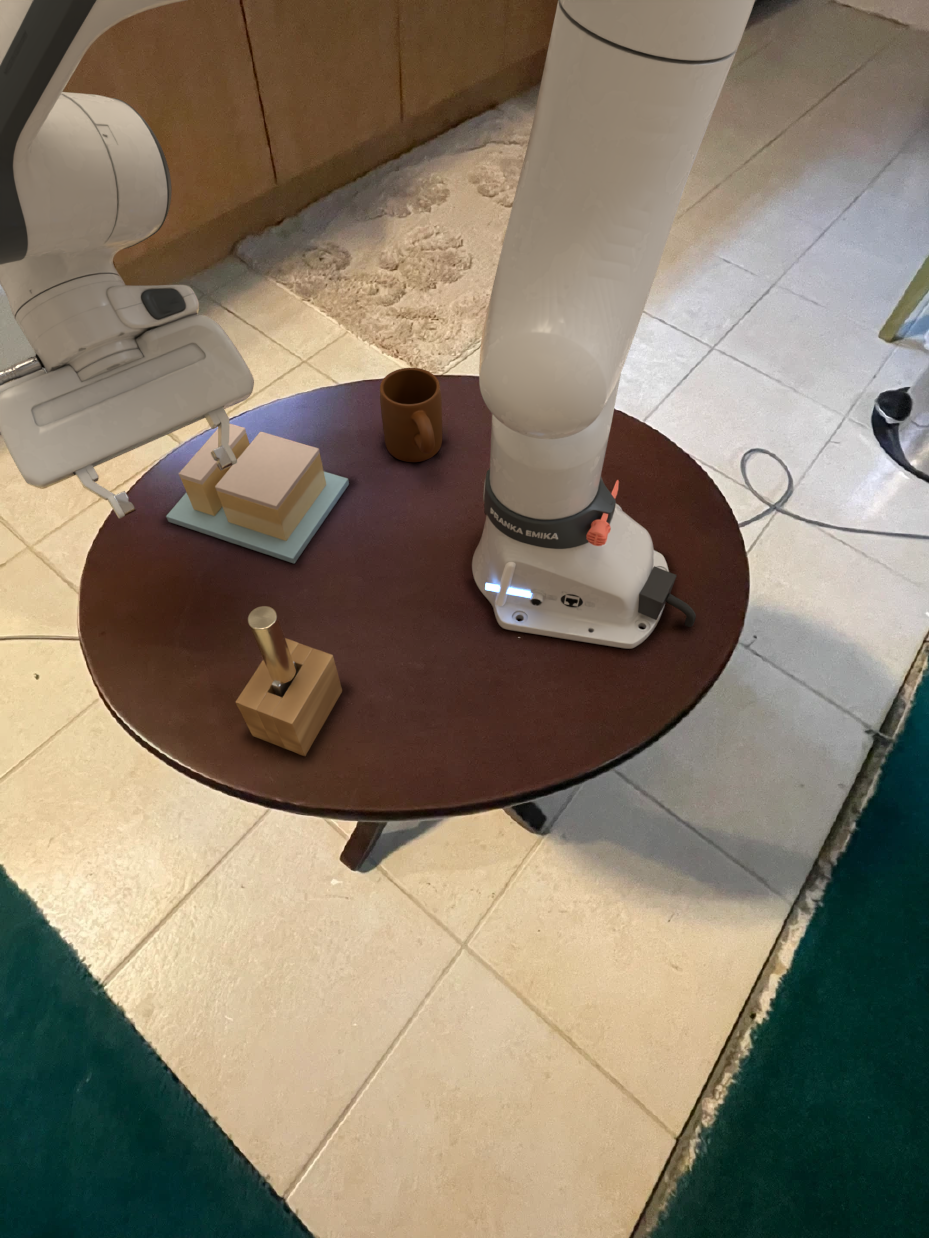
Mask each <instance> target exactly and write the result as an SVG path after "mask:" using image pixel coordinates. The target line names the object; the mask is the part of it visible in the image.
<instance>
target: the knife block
mask: <svg viewBox="0 0 929 1238" xmlns="http://www.w3.org/2000/svg"><path fill="white" fill-rule="evenodd" d="M285 640H286V643H287V645H288V648H289V651H290V654H291V657H292V660H293V661H294V662H295V665H296V668H297V671H298V673H297V675H296V677H295V678H294V680H293V681H292V683H291V685H290V686H289V688H288V690H287V691H286V693H285V694H284V696H283V698H282V697H279V696H277V695H276V694H275V691H274V689H273V686H272V683H273V680H272V679H271V677H270V675H269V672H268V670H267V667H266V665H265V662H264V660H263V659H262V661H261V662H260V664H259V665H258V666H257V668H256V670H255V671H254V673H253V674H252V675H251V678H250V679H249V681H248V682H247V684H246V685H245V687H244V688H243V689H242V691H241V693H240V694H239V696H238V698H237V699H236V700H235V704H236V706H237V708H238V710H239V712H240V714H241V716H242V719H243V720H244V722H245V724H246V726H247V728H248V730H249V732H250V734H251V736H252V737H255V738H256V739H260V740H262V741H263V742H264V741H265V742H267V743H269V744H272V745H275V746H277V747H280V748H282V749H284V750H287V751H290V752H292V753H295V754H298V755H299V756H303V757H306V756H307V754H308V753H309V751H310V749H311V747H312V745H313V744H314V742H315V740H316V738H317V737H318V734H319V733H320V731H321V730H322V728H323V726H324V725H325V723H326V721H327V719H328V717H329V716H330V714H331V712H332V710H333V708H334V707H335V706H336V703H337V701H338V700H339V699H340V696H341V694H342V693H343V688H342V684H341V680H340V677H339V673H338V670H337V666H336V661H335V657H334V655H333V654H331V653H328V652H325V651H323V650H320V649H317V648H314V647H311V646H308V645H305V644H302V643H299V642H297V641H294V640H292V639H289V638H286V637H285Z"/></svg>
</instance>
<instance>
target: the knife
mask: <svg viewBox="0 0 929 1238" xmlns="http://www.w3.org/2000/svg"><path fill="white" fill-rule="evenodd" d="M247 624H248V625H249V628H250V631H251V633H252V635H253V637H254V640H255V643H256V646H257V648H258V650H259V652H260V655H261V658H262V661H263V660H264V662H265V665H266V667H267V670H268V672H269V675H270V677H271V679H272V680H273V683H272V686H273V689H274V691H275V694H276V695H277V696H279V697H282V698H283V696H284V694H285V693H286V691H287V690H288V688H289V686H290V685H291V683H292V681H293V680H294V678H295V677H296V675H297V673H298V671H297V668H296V665H295V662H294V661H293V660H292V657H291V654H290V651H289V648H288V645H287V643H286V640H285V638H286V637H285V634H284V631H283V628H282V626H281V622H280V619H279V617H278V614H277V612H276V610H275V609H274V608H272V607H270V606H267V605H262V606H258V607H256V608H254V609H252V611H250V613H249V614H248V617H247Z"/></svg>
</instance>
